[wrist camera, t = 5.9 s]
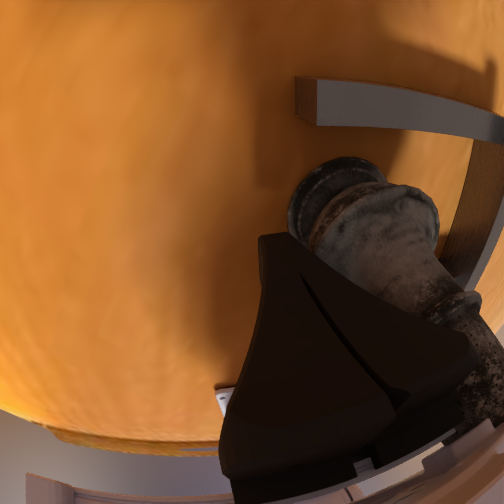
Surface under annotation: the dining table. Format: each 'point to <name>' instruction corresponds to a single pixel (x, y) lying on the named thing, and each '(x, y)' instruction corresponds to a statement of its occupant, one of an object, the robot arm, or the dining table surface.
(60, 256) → the dining table surface
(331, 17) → the dining table surface
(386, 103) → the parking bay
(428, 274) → the weathered grey candle holder
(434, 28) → the dining table surface
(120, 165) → the dining table surface
